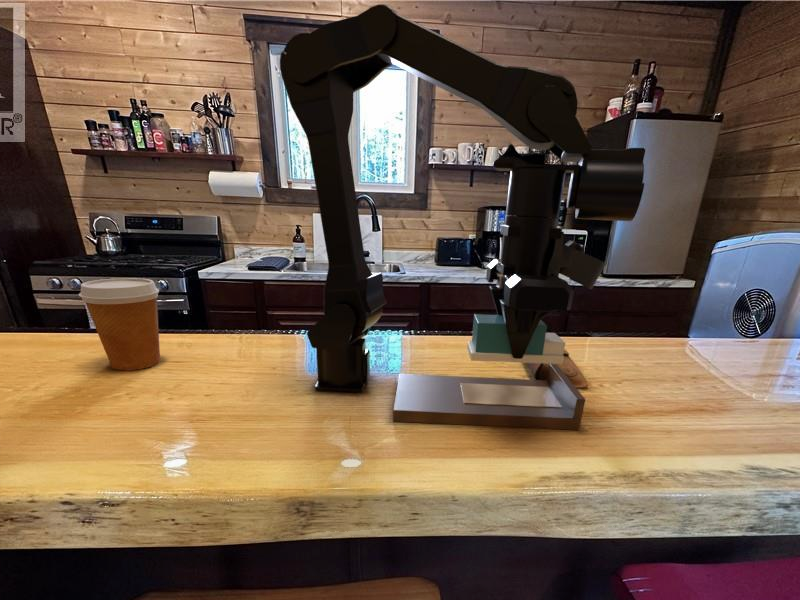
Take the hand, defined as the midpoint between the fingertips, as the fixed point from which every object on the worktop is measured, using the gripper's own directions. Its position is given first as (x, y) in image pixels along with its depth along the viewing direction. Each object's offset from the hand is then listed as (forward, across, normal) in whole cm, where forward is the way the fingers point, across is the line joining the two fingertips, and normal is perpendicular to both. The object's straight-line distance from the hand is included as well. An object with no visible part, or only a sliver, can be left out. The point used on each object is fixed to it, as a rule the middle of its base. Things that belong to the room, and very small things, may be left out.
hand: (513, 351), depth 54 cm
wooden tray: (+8, 0, +3) cm, 8 cm away
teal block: (+1, 0, 0) cm, 1 cm away
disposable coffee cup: (+8, +9, +54) cm, 56 cm away
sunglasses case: (+8, +16, -10) cm, 20 cm away
